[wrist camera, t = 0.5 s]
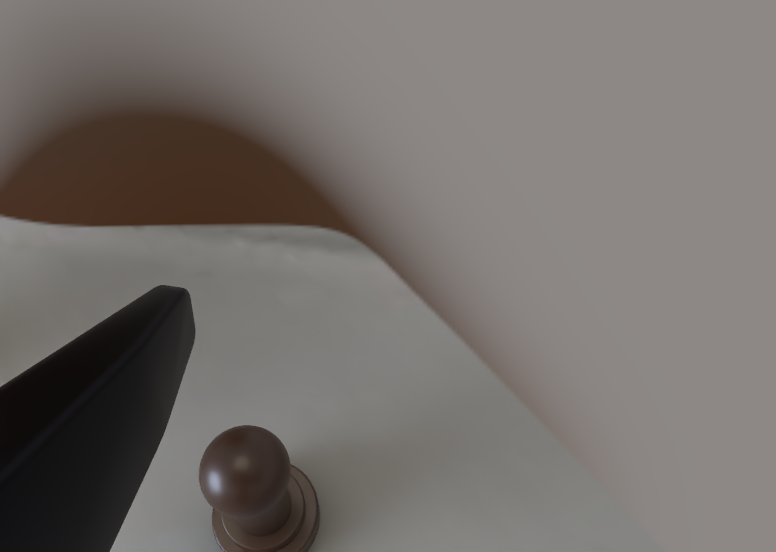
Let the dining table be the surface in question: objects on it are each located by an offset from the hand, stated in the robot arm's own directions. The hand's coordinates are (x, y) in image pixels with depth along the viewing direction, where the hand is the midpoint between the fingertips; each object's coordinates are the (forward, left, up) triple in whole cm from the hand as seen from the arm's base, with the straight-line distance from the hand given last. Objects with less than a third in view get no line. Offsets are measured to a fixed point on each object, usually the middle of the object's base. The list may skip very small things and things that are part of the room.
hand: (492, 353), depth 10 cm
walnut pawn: (0, +5, -15) cm, 16 cm away
